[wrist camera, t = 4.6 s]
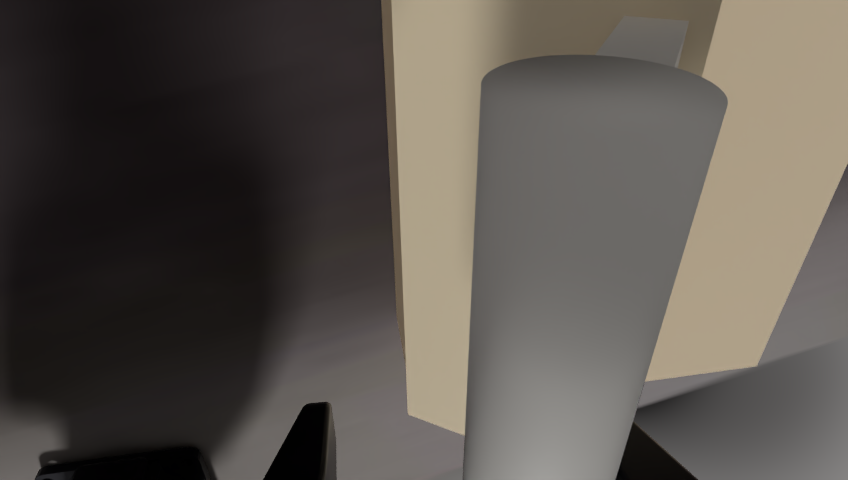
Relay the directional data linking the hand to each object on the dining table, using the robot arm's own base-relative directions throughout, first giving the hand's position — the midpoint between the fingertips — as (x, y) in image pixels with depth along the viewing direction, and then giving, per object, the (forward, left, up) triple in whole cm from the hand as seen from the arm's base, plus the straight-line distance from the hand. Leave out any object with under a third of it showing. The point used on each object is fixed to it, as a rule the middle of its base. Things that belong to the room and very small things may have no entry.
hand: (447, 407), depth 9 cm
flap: (0, -3, -4) cm, 5 cm away
